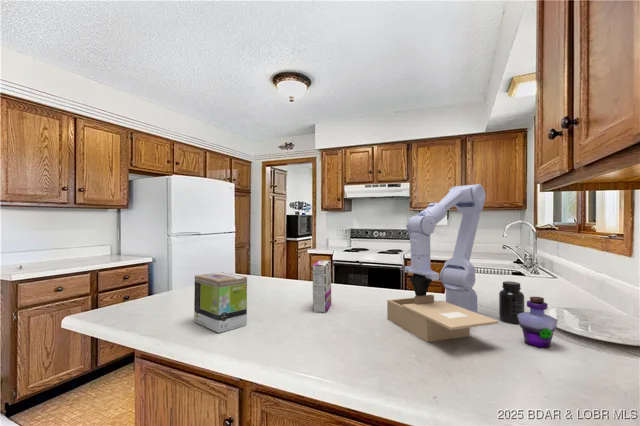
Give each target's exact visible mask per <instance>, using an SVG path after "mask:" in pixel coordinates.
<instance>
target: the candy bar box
mask: <svg viewBox="0 0 640 426" xmlns="http://www.w3.org/2000/svg"><path fill="white" fill-rule="evenodd" d="M311 266H312V267H311V268H312V270H311V271H312V313H322V314H325V313H327V311H328V310H329V308H330V307H331V305H332V262H331V260H318V261H317V262H315V263H313V264H312V265H311Z"/></svg>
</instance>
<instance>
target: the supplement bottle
mask: <svg viewBox="0 0 640 426" xmlns="http://www.w3.org/2000/svg"><path fill="white" fill-rule="evenodd" d="M521 290H522V288H521V283H520V282H518V281H510V280H509V281H508V280H507V281H502V289H501V290H499V293H498V310H499V312H498V313H499V314H498V316H499V319H500V321H502V322H503V323H507V324H511V325H520V323H519V319H518V314H520V313H522V312H525V294H524V292H522V291H521Z"/></svg>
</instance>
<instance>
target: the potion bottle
mask: <svg viewBox="0 0 640 426" xmlns="http://www.w3.org/2000/svg"><path fill="white" fill-rule="evenodd" d="M548 304H549V303H547V302H545V298H544V297H542V296H530V297H529V300H527V301H526V307H527V308H529V311H526V312H525V311H524V312H522V313H520V314H518V319H519V323H520V324H519V327H520V329H521V331H522V335H523V339H524V343H525V344H526V345H527V346H530V347H533V348H536V349H547V350H548V349H550V348H551V347H552V345H551V343H552V340H553V337H554V332H556V329H557V325H558V322H559V321H558V319H557V318H555V317H553V316H551V315H549V314H545V310H547V309H548V307H549V306H548Z"/></svg>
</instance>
